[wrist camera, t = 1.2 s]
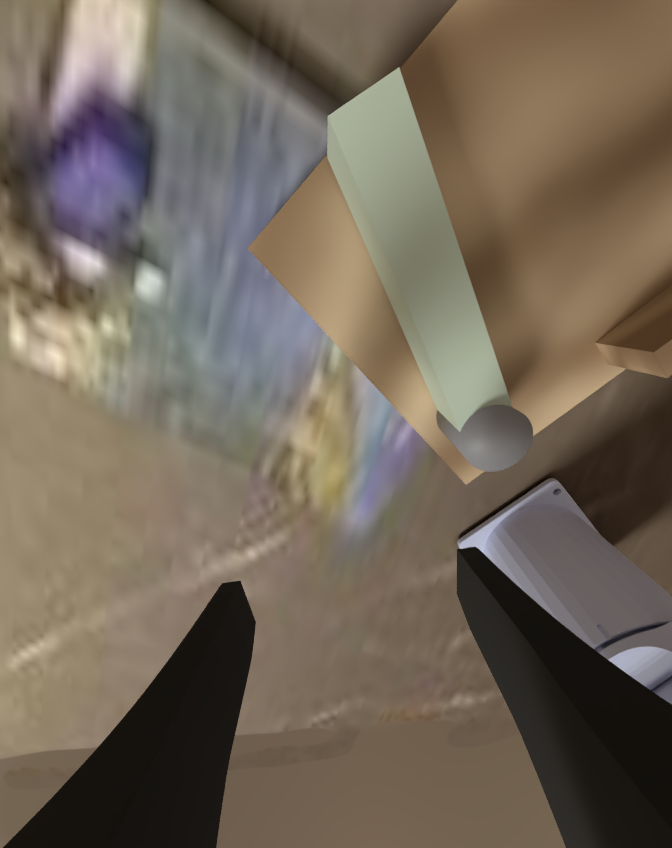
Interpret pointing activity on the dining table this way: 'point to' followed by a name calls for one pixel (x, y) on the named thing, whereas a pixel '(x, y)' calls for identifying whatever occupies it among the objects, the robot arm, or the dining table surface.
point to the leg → (424, 271)
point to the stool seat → (518, 206)
